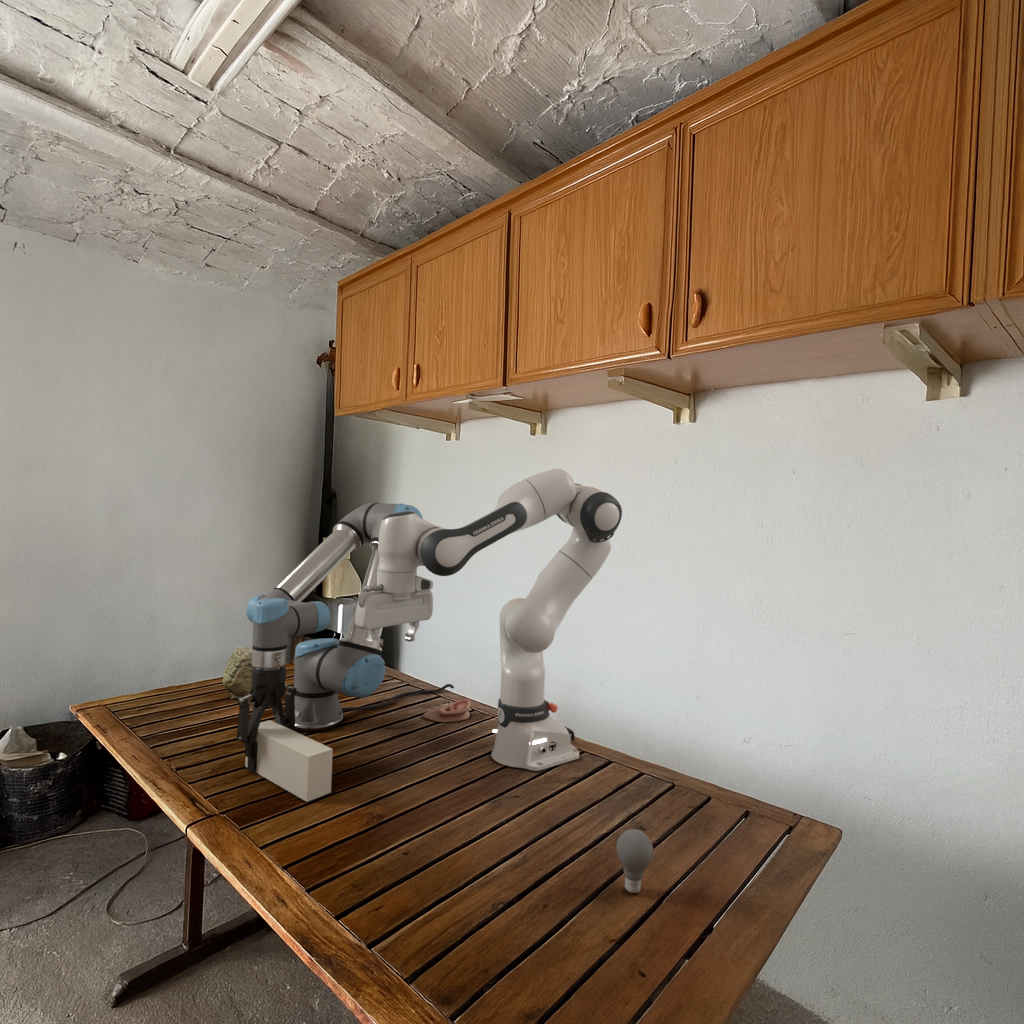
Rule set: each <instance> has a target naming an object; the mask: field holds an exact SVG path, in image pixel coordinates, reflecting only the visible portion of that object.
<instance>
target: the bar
mask: <svg viewBox="0 0 1024 1024" xmlns="http://www.w3.org/2000/svg"><path fill="white" fill-rule="evenodd" d="M255 742H257V743H258V745H257V771H255V772H254V773H256V774H258V775H259V776H261V777H263V778H264V779H267V780H268V781H269V782H271V783H273V784H275V785H276V786H278V787H280V788H282V789H283V790H285V791H287V792H288V793H291V794H292V795H294V796H295V797H297V798H299V799H301V800H303V801H305V802H307V803H308V802H310V801H313V800H315V799H318V798H321V797H323V796H325V795H328V794H331V793H332V781H333V779H332V776H333V753H334V752H333V751H334V749H333V748H332V747H330V746H327V745H325V744H323V743H322V742H319V741H317V740H315V739H312V738H310V737H308V736H306V735H303V734H302V733H300V732H298V731H295V730H292V729H289V728H286V727H284V726H282V725H280V724H278V723H276V721H273V720H272V719H269V720H265V721H260V724H259V728H258V731H257V734H256V738H255ZM247 764H248V757H246V756H245V764H244V765H245V767H244V768H247Z"/></svg>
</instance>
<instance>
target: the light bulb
mask: <svg viewBox="0 0 1024 1024" xmlns="http://www.w3.org/2000/svg"><path fill="white" fill-rule="evenodd" d="M615 849H616V854H617V857H618V859H619V861H620V863H621V865H622V867H623V873H624V874H623V875H624V876H625V878H624V888H625V890H627V891H628V892H630V893H634V894H635V893H639V892H640V891H641V889H642V887H641V886H642V879H643V877H644V875H645V871H646V868H647V867H648V866H649V864H650V863H651V861H652V859H653V855H654V847H653V843H652V841H651V838H649V836H648V835H647V834H646V833H645V832H643V831H642V830H641V829H636V828H629V829H627V830H625V831H623V832H622V833H621V834H620V835H619V837H618V839H617V841H616V847H615Z"/></svg>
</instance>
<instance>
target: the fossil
mask: <svg viewBox="0 0 1024 1024" xmlns="http://www.w3.org/2000/svg"><path fill="white" fill-rule="evenodd" d="M252 668H253V666H252V648H251V647H247V646H246V647H245V646H238V647H237V648H236V649H235V650H233V651H232V653H231V656H230V657H229V659H228V660H227V663H226V666H225V668H224V671H223V675H222V676H223V677H222V685H223V687H224V688H225V690H226V691H228V693H229V698H230V699H238V698H239V697H245V696H247V695H249V693H250V691H251V688H252V685H251V671H252ZM285 685H286V687H288V686H287V680H286V681H285Z"/></svg>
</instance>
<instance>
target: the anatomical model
mask: <svg viewBox="0 0 1024 1024" xmlns="http://www.w3.org/2000/svg"><path fill="white" fill-rule="evenodd" d="M471 704H472V703H471V700H470V699H461V700H457V701H454V702H451V703H449V704H446V705H443V706H439V707H436V708H433V709H430V710H428V711H426V712H424V713H423V714H422V718H424V719H427V720H430V721H432V722H437V723H449V722H451V723H452V722H460V721H464V720H468V719H469V718H470V717H471V716H470V715H471V714H470V711H469V710H470V709H471V706H472V705H471Z"/></svg>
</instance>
